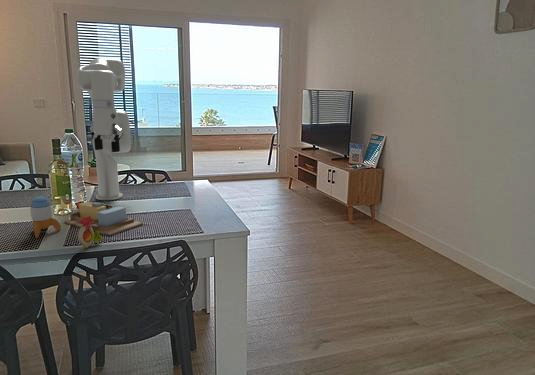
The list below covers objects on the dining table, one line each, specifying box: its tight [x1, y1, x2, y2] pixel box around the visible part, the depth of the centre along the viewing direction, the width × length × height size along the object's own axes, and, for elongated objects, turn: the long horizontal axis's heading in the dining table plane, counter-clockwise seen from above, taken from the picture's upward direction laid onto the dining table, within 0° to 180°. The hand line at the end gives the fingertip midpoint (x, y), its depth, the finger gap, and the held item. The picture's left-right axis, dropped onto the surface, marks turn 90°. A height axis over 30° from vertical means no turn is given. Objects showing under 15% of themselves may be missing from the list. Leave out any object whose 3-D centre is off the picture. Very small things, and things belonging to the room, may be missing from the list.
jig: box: [63, 210, 144, 237], centre depth 171 cm, size 28×16×3 cm, turn 58°
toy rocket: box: [29, 196, 62, 239], centre depth 159 cm, size 10×11×15 cm
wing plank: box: [98, 206, 127, 227], centre depth 167 cm, size 4×10×6 cm, turn 148°
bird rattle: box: [77, 216, 104, 249], centre depth 146 cm, size 6×11×9 cm
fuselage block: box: [78, 201, 107, 220], centre depth 173 cm, size 12×4×7 cm, turn 58°
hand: (107, 150), depth 161 cm, fingers open, 9 cm apart
